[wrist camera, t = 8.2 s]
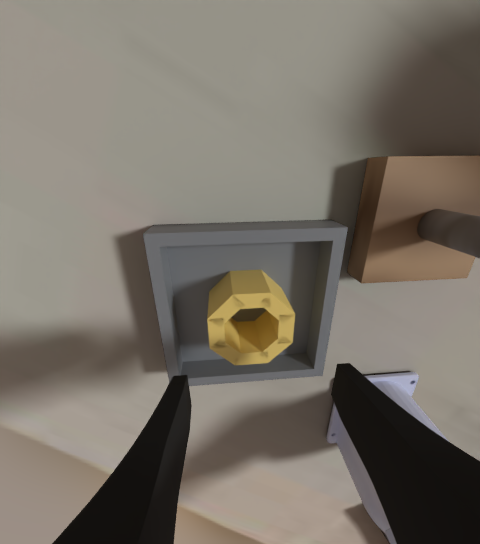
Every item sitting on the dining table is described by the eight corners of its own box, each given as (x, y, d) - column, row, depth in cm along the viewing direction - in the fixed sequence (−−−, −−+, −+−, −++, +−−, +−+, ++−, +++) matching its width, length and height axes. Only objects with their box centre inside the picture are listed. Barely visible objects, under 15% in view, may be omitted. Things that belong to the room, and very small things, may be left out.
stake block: (443, 267, 19) (544, 312, 13) (347, 271, 18) (408, 320, 12) (482, 156, 16) (641, 149, 10) (368, 157, 15) (463, 150, 9)
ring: (278, 329, 19) (290, 361, 16) (212, 333, 19) (211, 367, 16) (282, 268, 17) (297, 291, 14) (207, 272, 17) (205, 296, 14)
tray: (311, 354, 22) (322, 375, 19) (175, 364, 21) (170, 387, 18) (330, 219, 17) (347, 227, 14) (153, 224, 16) (143, 233, 14)
